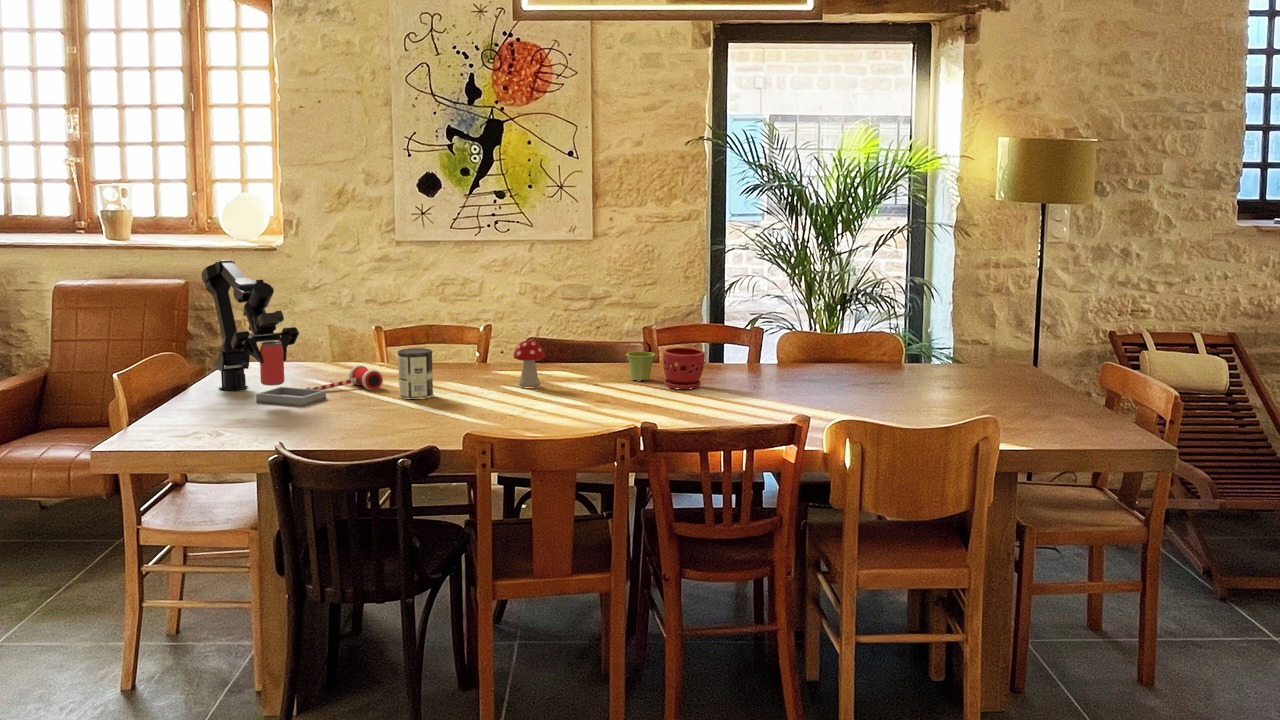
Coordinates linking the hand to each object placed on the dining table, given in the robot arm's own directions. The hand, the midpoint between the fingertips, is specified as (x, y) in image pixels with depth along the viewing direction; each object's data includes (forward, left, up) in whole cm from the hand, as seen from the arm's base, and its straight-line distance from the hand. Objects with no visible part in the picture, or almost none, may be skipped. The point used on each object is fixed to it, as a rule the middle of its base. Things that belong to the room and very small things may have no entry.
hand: (273, 361), depth 368 cm
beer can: (-1, +1, -7) cm, 7 cm away
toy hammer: (+4, +31, -14) cm, 34 cm away
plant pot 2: (+100, +73, -13) cm, 125 cm away
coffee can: (+30, +28, -13) cm, 43 cm away
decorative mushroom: (+55, +55, -13) cm, 79 cm away
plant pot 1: (+83, +80, -13) cm, 116 cm away
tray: (-1, +9, -13) cm, 16 cm away
